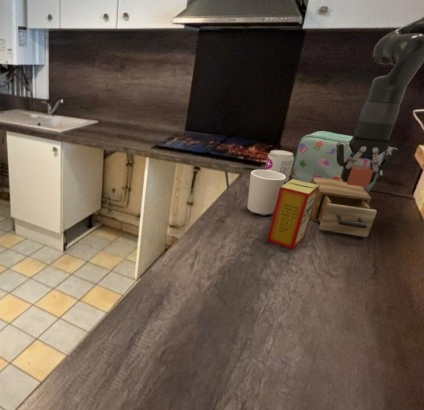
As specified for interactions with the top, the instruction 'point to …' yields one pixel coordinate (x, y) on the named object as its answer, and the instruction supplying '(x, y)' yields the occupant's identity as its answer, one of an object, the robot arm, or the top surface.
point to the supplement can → (280, 162)
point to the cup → (264, 191)
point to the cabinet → (336, 192)
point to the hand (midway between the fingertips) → (355, 182)
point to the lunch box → (324, 158)
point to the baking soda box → (292, 213)
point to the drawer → (345, 215)
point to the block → (359, 175)
